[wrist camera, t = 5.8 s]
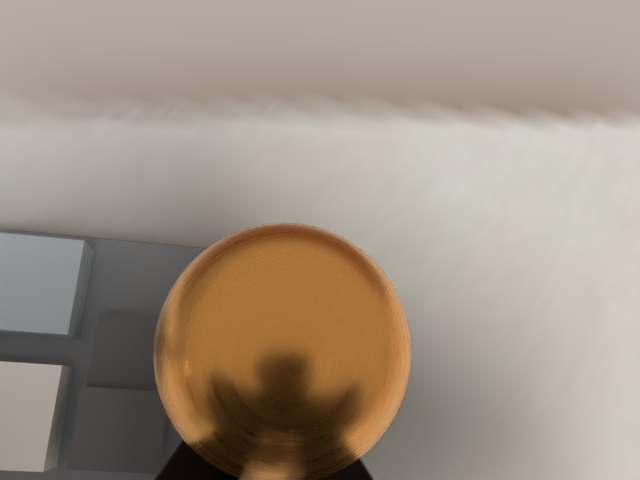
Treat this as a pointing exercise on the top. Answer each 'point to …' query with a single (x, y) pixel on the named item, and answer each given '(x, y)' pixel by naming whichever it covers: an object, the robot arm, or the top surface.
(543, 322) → the top surface
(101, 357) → the panel
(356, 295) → the orange knob lever
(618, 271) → the top surface
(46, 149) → the top surface
